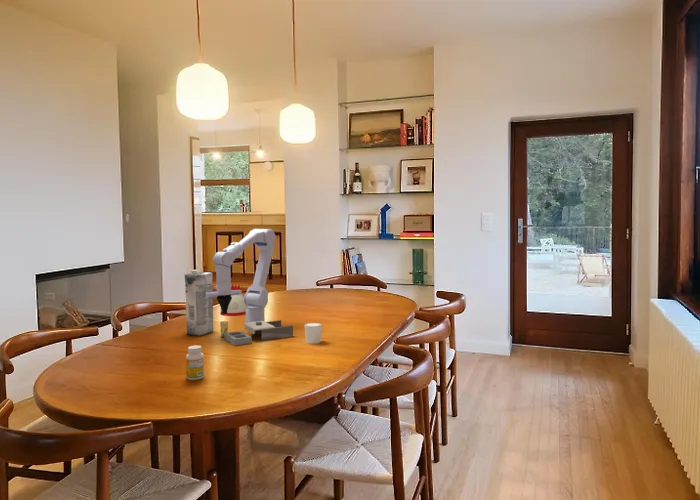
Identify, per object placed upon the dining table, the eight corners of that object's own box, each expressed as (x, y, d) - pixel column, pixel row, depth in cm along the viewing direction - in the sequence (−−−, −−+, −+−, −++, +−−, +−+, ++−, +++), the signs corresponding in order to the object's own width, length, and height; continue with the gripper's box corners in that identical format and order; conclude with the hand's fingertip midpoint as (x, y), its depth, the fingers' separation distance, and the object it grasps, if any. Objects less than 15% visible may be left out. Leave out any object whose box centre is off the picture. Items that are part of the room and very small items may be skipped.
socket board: (224, 339, 210) (224, 333, 210) (241, 336, 214) (241, 330, 213) (234, 345, 200) (234, 339, 200) (251, 343, 203) (251, 337, 203)
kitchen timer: (245, 316, 255) (244, 286, 254) (217, 316, 256) (216, 286, 254) (251, 310, 269) (250, 282, 268) (224, 310, 270) (223, 282, 268)
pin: (219, 335, 216) (219, 321, 215) (226, 335, 217) (226, 320, 217) (222, 337, 213) (221, 323, 213) (229, 336, 215) (228, 322, 214)
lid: (243, 328, 216) (243, 320, 216) (262, 325, 221) (262, 318, 221) (254, 334, 205) (254, 326, 205) (274, 331, 210) (274, 324, 210)
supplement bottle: (188, 374, 165) (187, 344, 164) (205, 374, 166) (205, 344, 165) (184, 380, 160) (183, 349, 159) (202, 379, 160) (201, 349, 159)
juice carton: (216, 331, 224) (215, 269, 222) (200, 336, 214) (198, 271, 212) (200, 329, 228) (198, 268, 225) (183, 334, 218) (181, 270, 216)
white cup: (324, 340, 207) (324, 323, 207) (318, 344, 201) (317, 326, 200) (308, 339, 209) (308, 322, 209) (301, 343, 203) (301, 325, 202)
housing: (250, 334, 218) (250, 323, 218) (280, 330, 225) (280, 320, 225) (262, 340, 207) (261, 329, 207) (293, 336, 214) (292, 325, 214)
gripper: (208, 283, 206) (209, 317, 207) (243, 280, 214) (244, 313, 215) (203, 281, 212) (204, 314, 213) (238, 278, 220) (238, 310, 221)
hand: (224, 313), depth 214 cm, fingers closed
